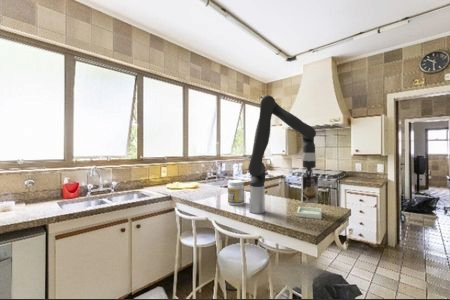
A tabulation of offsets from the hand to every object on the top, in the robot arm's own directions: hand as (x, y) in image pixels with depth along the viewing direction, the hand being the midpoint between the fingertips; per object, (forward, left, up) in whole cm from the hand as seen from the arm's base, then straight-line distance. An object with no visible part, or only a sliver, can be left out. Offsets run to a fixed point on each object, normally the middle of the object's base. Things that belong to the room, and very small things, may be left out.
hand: (309, 186), depth 147 cm
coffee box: (0, 0, -10) cm, 10 cm away
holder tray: (0, 0, -18) cm, 18 cm away
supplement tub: (-52, +9, -18) cm, 56 cm away
